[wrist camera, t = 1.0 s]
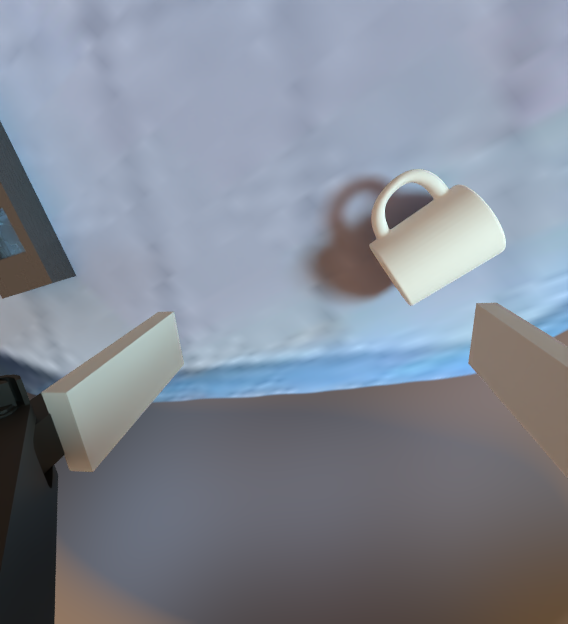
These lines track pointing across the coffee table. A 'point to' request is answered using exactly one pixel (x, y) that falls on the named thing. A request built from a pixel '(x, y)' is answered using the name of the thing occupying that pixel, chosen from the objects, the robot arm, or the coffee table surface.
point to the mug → (434, 236)
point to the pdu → (25, 231)
